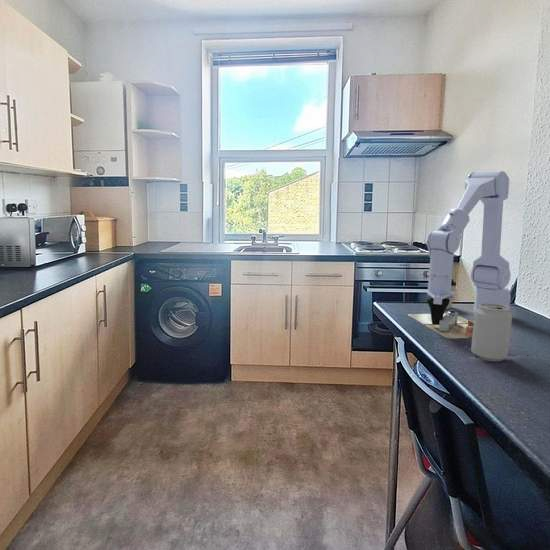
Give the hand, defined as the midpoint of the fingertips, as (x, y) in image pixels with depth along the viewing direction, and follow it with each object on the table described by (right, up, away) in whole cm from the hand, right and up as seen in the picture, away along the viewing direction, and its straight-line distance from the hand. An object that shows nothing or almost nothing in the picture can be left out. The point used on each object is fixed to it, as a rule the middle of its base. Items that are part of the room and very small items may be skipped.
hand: (436, 324), depth 118 cm
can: (+5, -5, -19) cm, 21 cm away
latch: (+3, 0, 0) cm, 3 cm away
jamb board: (+5, -1, +4) cm, 7 cm away
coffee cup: (+11, +2, +23) cm, 26 cm away
